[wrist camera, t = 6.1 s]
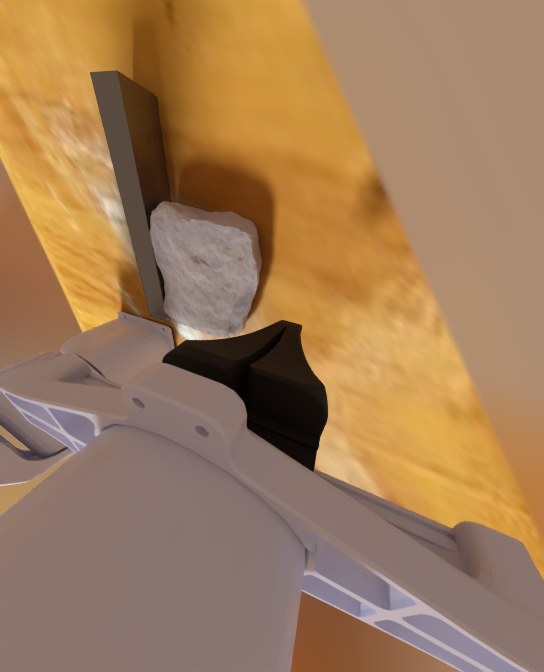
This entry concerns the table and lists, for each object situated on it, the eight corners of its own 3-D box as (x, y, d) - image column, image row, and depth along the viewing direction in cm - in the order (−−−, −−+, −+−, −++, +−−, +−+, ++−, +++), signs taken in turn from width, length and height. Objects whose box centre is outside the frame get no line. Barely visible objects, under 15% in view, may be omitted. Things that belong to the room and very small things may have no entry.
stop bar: (170, 306, 25) (150, 315, 22) (132, 96, 15) (89, 72, 13) (185, 311, 24) (166, 320, 22) (156, 96, 15) (116, 70, 12)
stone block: (273, 217, 18) (169, 198, 18) (262, 220, 14) (130, 196, 14) (259, 326, 24) (183, 310, 25) (249, 349, 20) (160, 330, 21)
